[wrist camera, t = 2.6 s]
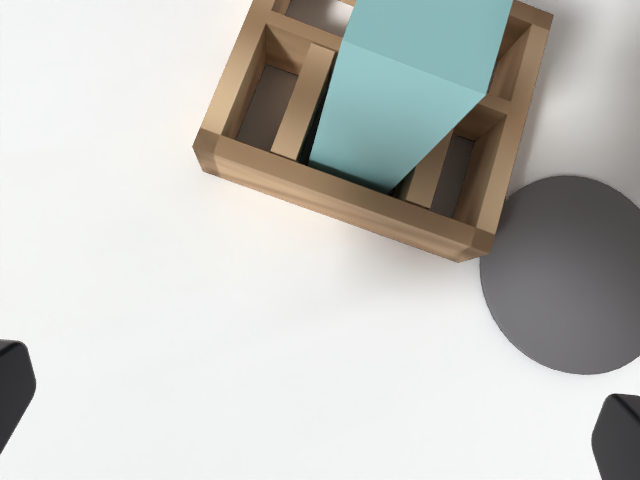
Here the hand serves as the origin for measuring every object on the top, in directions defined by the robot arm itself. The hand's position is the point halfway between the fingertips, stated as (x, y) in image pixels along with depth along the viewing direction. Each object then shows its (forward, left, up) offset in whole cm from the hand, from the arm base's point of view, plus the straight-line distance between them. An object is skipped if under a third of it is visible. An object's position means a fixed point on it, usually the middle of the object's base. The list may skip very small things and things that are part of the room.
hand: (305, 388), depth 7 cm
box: (+8, -8, -12) cm, 17 cm away
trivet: (-3, -13, -12) cm, 18 cm away
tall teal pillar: (+6, -7, -12) cm, 16 cm away
